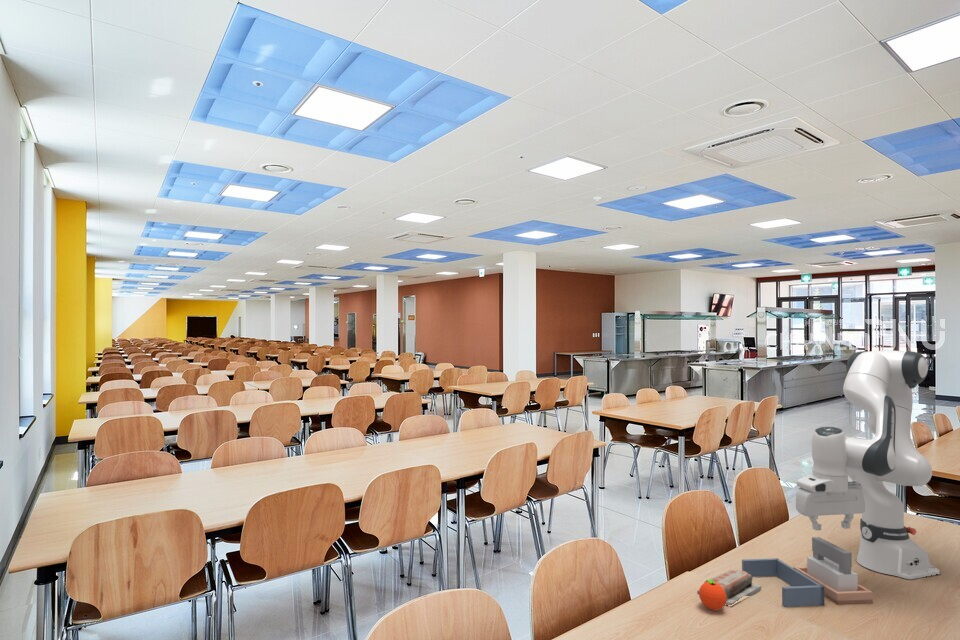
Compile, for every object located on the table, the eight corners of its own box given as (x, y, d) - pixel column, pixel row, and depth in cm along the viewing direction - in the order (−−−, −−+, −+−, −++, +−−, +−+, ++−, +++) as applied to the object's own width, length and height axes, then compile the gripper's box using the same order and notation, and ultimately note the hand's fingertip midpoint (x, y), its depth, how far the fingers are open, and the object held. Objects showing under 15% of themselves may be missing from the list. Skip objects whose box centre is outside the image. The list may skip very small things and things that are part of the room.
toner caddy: (825, 576, 159) (824, 536, 159) (857, 595, 147) (857, 552, 148) (807, 576, 158) (806, 537, 159) (838, 596, 146) (838, 553, 147)
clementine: (693, 599, 145) (693, 574, 145) (718, 600, 145) (718, 574, 145) (705, 614, 137) (704, 587, 137) (731, 615, 137) (731, 588, 137)
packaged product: (730, 591, 141) (696, 578, 149) (730, 609, 141) (696, 595, 149) (761, 574, 152) (728, 562, 160) (761, 591, 152) (728, 578, 160)
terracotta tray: (825, 575, 162) (825, 565, 162) (873, 602, 145) (872, 592, 145) (793, 576, 160) (793, 567, 161) (837, 604, 144) (837, 593, 144)
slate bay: (777, 574, 162) (777, 558, 162) (824, 605, 143) (824, 586, 143) (742, 575, 161) (741, 559, 161) (784, 607, 142) (784, 588, 142)
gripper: (852, 478, 158) (854, 523, 158) (791, 480, 156) (792, 526, 156) (870, 483, 152) (871, 530, 152) (807, 486, 150) (808, 534, 149)
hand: (831, 528), depth 154 cm, fingers open, 8 cm apart
